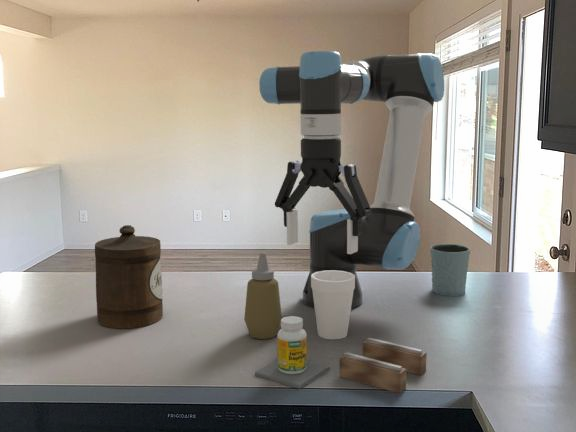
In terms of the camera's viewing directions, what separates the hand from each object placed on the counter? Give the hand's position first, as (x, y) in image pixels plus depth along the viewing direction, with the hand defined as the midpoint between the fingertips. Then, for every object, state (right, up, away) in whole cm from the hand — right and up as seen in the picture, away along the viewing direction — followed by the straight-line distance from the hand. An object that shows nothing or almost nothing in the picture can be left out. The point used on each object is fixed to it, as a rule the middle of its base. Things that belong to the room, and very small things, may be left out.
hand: (321, 247), depth 118 cm
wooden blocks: (+11, -23, -5) cm, 26 cm away
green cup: (+36, -14, +46) cm, 60 cm away
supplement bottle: (-6, -22, -5) cm, 24 cm away
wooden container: (-43, -18, +25) cm, 53 cm away
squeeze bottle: (-12, -20, +14) cm, 27 cm away
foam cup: (+3, -20, +14) cm, 25 cm away
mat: (-6, -23, -5) cm, 24 cm away
